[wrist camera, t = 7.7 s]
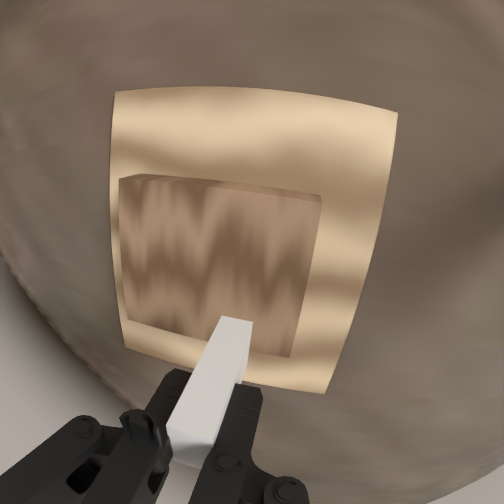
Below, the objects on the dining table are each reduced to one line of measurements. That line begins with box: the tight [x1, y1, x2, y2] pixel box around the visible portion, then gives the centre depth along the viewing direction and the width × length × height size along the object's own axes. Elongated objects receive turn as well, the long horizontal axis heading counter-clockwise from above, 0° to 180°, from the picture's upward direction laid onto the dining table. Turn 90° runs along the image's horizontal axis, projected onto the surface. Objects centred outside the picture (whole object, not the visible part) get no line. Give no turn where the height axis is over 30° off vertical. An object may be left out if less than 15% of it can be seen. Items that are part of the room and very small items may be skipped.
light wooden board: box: [110, 87, 398, 394], centre depth 23 cm, size 26×22×1 cm
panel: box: [118, 173, 322, 358], centre depth 21 cm, size 12×3×14 cm
